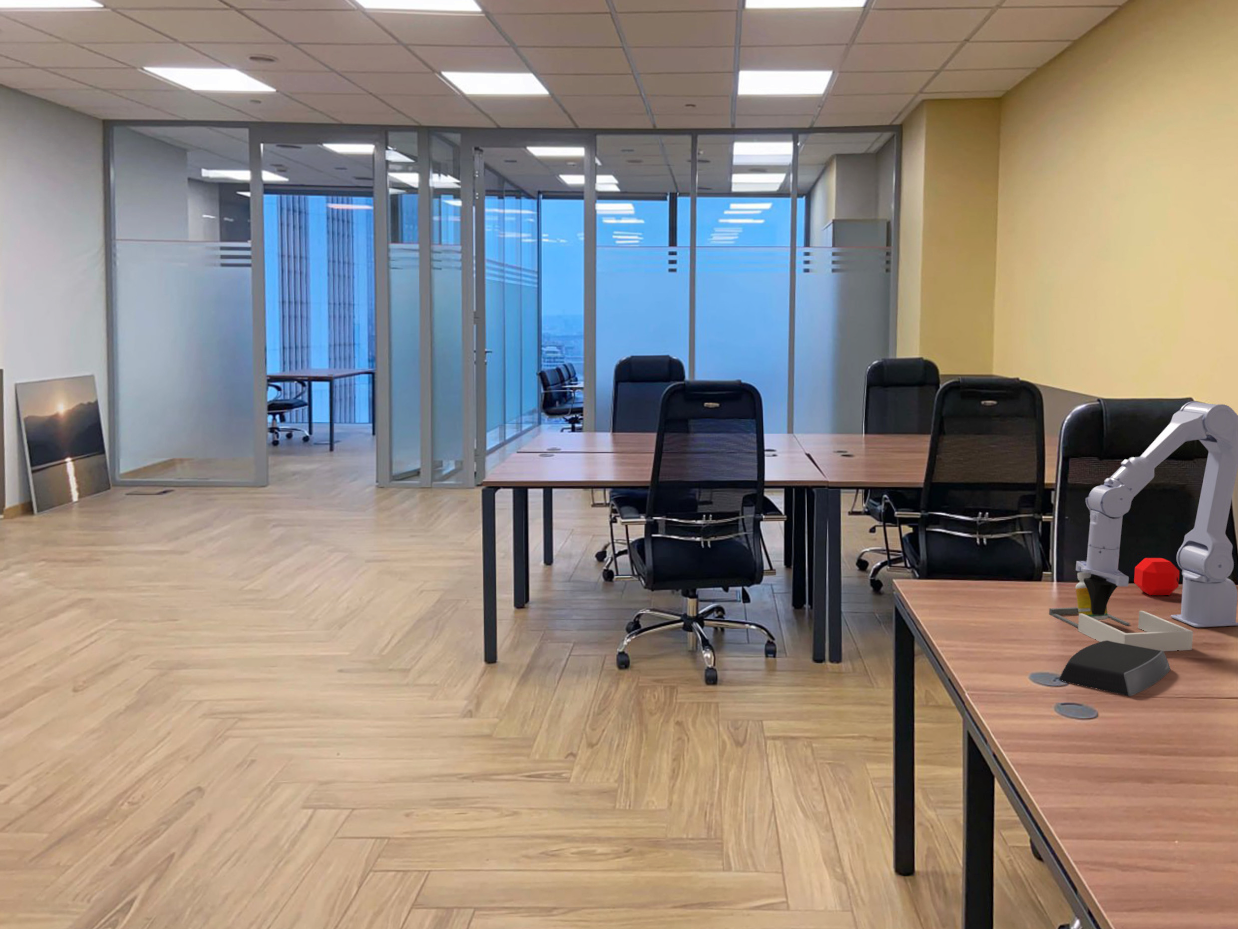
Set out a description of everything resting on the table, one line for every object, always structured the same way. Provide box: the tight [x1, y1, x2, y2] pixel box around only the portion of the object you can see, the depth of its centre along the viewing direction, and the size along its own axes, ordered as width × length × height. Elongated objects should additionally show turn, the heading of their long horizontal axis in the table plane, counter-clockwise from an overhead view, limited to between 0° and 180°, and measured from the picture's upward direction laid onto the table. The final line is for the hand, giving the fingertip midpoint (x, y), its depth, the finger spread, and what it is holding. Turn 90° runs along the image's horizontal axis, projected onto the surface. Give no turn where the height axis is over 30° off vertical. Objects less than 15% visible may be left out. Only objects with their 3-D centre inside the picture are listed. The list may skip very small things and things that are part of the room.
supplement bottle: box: [1075, 571, 1109, 621], centre depth 220 cm, size 5×5×10 cm
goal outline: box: [1048, 606, 1130, 629], centre depth 222 cm, size 11×10×1 cm
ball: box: [1133, 557, 1180, 596], centre depth 243 cm, size 8×8×8 cm
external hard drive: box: [1058, 640, 1171, 697], centre depth 187 cm, size 13×19×4 cm
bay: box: [1077, 610, 1194, 652], centre depth 207 cm, size 14×15×4 cm
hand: (1097, 614), depth 217 cm, fingers closed, pressing on supplement bottle
